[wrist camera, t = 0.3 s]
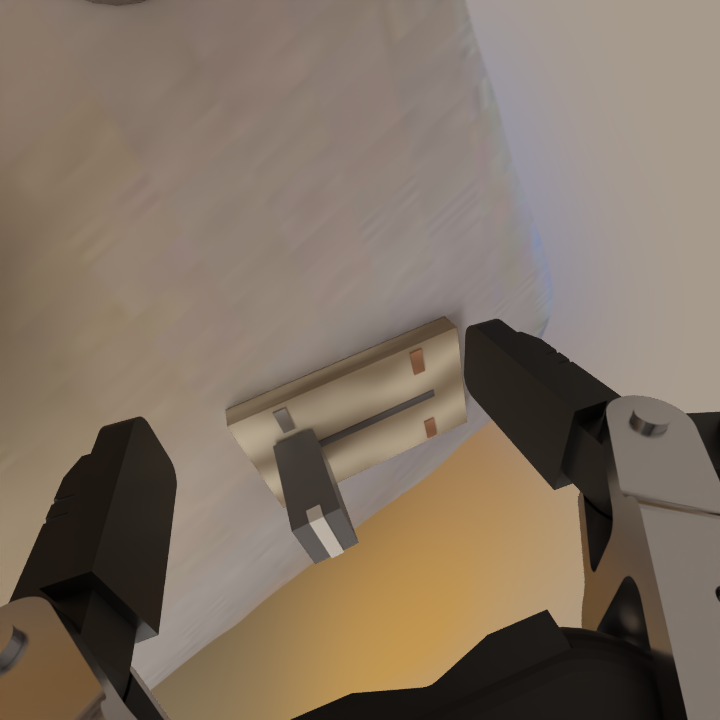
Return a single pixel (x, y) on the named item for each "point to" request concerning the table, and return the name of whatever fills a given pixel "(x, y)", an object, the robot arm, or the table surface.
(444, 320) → the fader panel
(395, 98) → the table surface
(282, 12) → the table surface
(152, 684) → the table surface
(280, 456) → the fader knob
